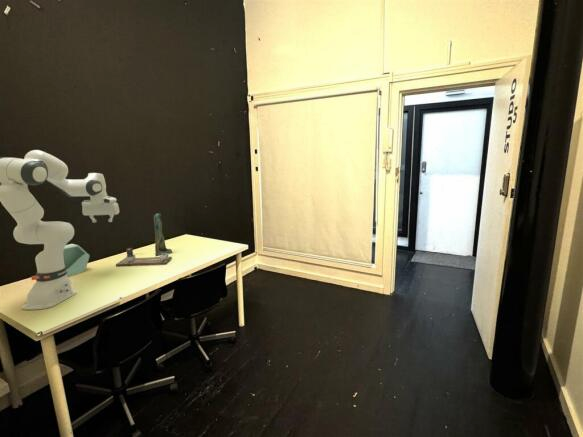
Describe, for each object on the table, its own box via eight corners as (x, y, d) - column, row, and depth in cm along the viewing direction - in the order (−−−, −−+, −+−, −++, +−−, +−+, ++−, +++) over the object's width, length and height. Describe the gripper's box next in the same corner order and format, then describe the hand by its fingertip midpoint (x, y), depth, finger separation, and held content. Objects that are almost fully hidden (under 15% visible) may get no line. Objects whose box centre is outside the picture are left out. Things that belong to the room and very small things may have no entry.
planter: (73, 282, 185) (46, 260, 172) (67, 279, 189) (40, 258, 176) (95, 260, 195) (71, 239, 182) (89, 258, 199) (65, 237, 186)
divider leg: (130, 262, 199) (129, 250, 197) (124, 262, 199) (122, 251, 197) (135, 258, 206) (134, 247, 205) (129, 259, 206) (127, 247, 204)
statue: (172, 253, 224) (168, 213, 218) (156, 256, 218) (152, 215, 212) (170, 250, 229) (166, 212, 223) (154, 253, 223) (150, 213, 217)
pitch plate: (166, 264, 200) (165, 255, 198) (115, 266, 198) (114, 257, 197) (171, 258, 211) (171, 250, 210) (124, 260, 209) (123, 252, 208)
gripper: (78, 200, 179) (81, 223, 182) (113, 199, 180) (117, 222, 183) (84, 199, 185) (88, 221, 188) (119, 198, 187) (122, 220, 189)
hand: (102, 222), depth 186 cm, fingers open, 8 cm apart
